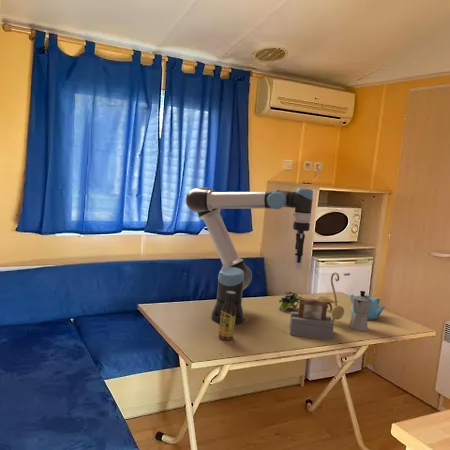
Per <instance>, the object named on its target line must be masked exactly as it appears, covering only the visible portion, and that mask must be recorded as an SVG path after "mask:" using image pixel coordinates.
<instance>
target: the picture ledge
mask: <svg viewBox="0 0 450 450" xmlns="http://www.w3.org/2000/svg"><path fill="white" fill-rule="evenodd" d="M332 319H333V317H332V315H326V321H323V320H315V319H306V318H298V311H295V312H294V311H291V312H290V319H289V335H291V336H298V337H299V336H300V337H305V336H306V337H307V338H313V337H314V338H313V339H315V338H316V339H323V340H329V341H333V336H334V335H333V333H334V324H335V323H334V321H333V322H332V321H331V320H332ZM306 337H305V338H306Z"/></svg>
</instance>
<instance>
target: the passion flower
mask: <svg viewBox="0 0 450 450" xmlns="http://www.w3.org/2000/svg"><path fill="white" fill-rule="evenodd" d="M300 298H303V297H302V296H301V295H299V296H298V294H297V293H296V292H293V291H288V292H287V291H286V292H285V294H284V295H283V296H282V297H281V299H278V303H279V304H281V305H280V306H279V308H278V309H279V311H282V310H284V311H285V310H287V309H289V308H290V307H291V309H293V310H294V311H293V312H296V310H297V309H296V308H297V307H298V306H299V302H300ZM295 303H296V304H295Z"/></svg>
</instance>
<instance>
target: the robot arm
mask: <svg viewBox="0 0 450 450" xmlns="http://www.w3.org/2000/svg"><path fill="white" fill-rule="evenodd" d="M313 192H314V191H313V189H311V188H302V187H297V189H296V191H289V190H288V191H287V190H280V189H273V190H271V191H226V192H225V191H223V192H222V191H215V189H213V188H210V187H207V186H203V187H196V188H192V189H191V190H189V192H188V193H187V194H186V197H185V203H186V206H187V207H188V209H189V210H190V211H192V212H195V213H196V214H197V215H198V218H199V219H200V220H203V222H204V224H205V226H206V229H207V231H208V233H209V235H210V238H211V241H212V243H213V244H214V247H215V250H216V252H217V254H218V256H219V258H220V262H221V264H222V266H221V269H220V270H219V272H218V275H217V279H218V280H217V292H216V302H215V304H214V307H213V309H212V311H211V320H213V321H215V322H217V323H219V324H220V317H221V310H222V308H223V306H224V303H225V300H226V292H227V291H234V292H236V296H235V302H234V304H235V306H236V318H235V325H236V324H237V325H238V324H240V323H243V322H244V320H245V315H244V310H243V305H242V300H243V291H244V290H245V289H247V287H249V285H250V284H251V282H252V279H253V273H252V270H251V269H250V268H249V266H247V265H246V263H245V261H244V259H243V258H240V257H239V255H238V253H237V249H235V246H234V243H233V241H232V238H231V236H230V234H229V232H228V229H227V227H226V225H225V223H224V220H223V217H222V215H221V213H220V212H221V210H223V209H225V210H226V209H227V210H228V209H230V210H231V209H232V210H233V209H241V210H242V209H243V210H245V209H247V210H248V209H249V210H250V209H251V210H252V209H268V210H269V209H270V210H281V209H283V208H291V209H294V213H293V214H292V216H293V217H294V218H293V220H294V221H293V225H292V229H293V230H295V231H296V233H295V246H294V249H295V250H294V258H293V264H294V270H299V271H301V270H302V264H303V263H302V262H303V256H304V255H303V254H304V244H305V238H306V237H305V236H306V234H305V232H308V231H310V226H311V224H310V222H311V218H312V208H313V201H314V199H313V196H314V193H313Z"/></svg>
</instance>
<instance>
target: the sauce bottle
mask: <svg viewBox="0 0 450 450" xmlns="http://www.w3.org/2000/svg"><path fill="white" fill-rule="evenodd" d="M235 296H236V292H234V291H227V292H226V300H225V303H224V306H223V308H222V310H221V317H220V323H219V327H218V337H219V339H221V340H224V341H230V340H232V339H233V338H234V333H235V325H236V324H235V318H236V306H235V304H234V302H235Z"/></svg>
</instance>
